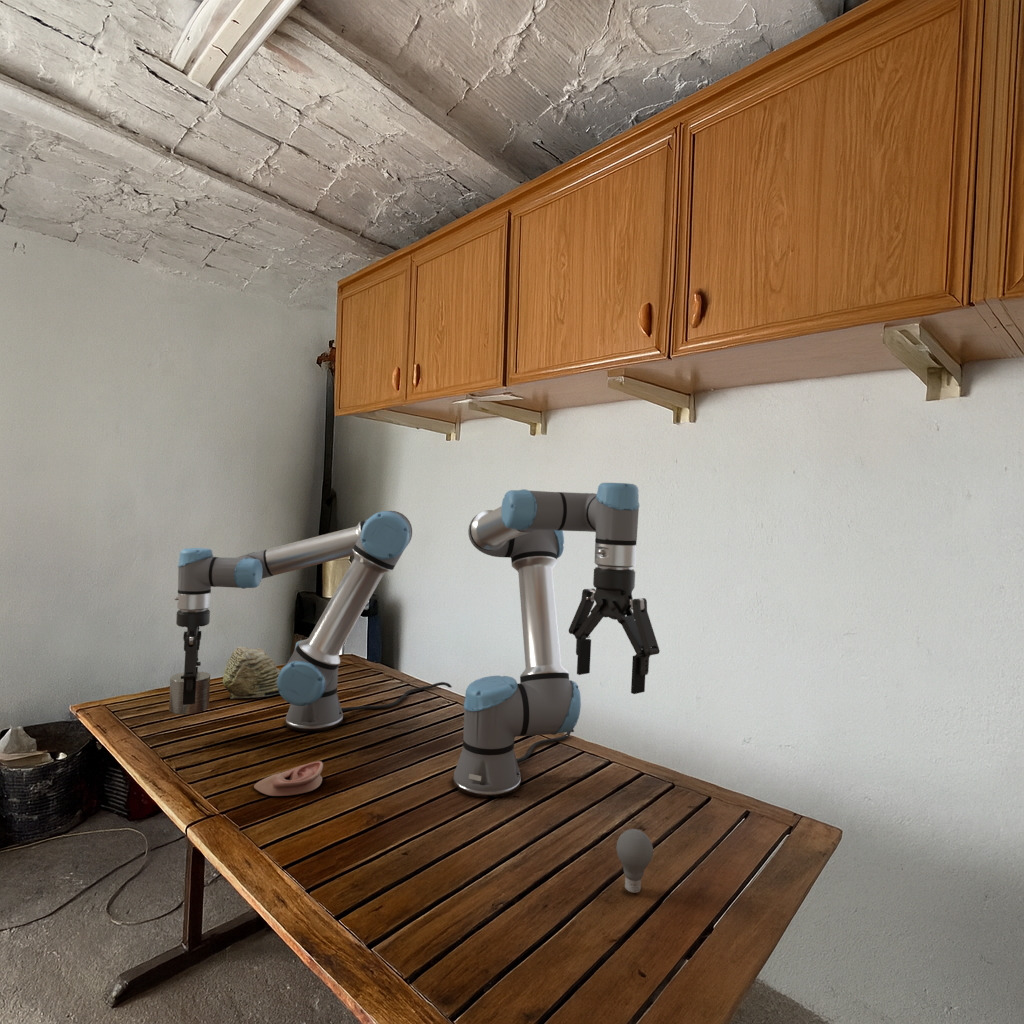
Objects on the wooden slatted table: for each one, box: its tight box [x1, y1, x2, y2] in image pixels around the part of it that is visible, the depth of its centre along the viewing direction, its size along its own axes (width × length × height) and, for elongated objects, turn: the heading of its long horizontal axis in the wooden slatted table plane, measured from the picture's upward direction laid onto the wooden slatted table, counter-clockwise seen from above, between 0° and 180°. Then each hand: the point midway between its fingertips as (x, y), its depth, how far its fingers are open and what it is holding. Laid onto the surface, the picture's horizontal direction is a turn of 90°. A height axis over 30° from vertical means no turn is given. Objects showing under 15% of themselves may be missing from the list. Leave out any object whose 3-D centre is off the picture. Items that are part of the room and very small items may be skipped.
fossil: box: [222, 646, 281, 699], centre depth 198 cm, size 9×18×15 cm, turn 132°
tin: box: [168, 671, 211, 715], centre depth 160 cm, size 9×9×8 cm
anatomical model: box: [253, 760, 324, 797], centre depth 138 cm, size 13×4×12 cm
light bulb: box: [615, 828, 654, 894], centre depth 106 cm, size 6×6×10 cm
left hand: (190, 697), depth 160 cm, fingers closed on tin, 9 cm apart
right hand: (609, 682), depth 116 cm, fingers open, 13 cm apart
